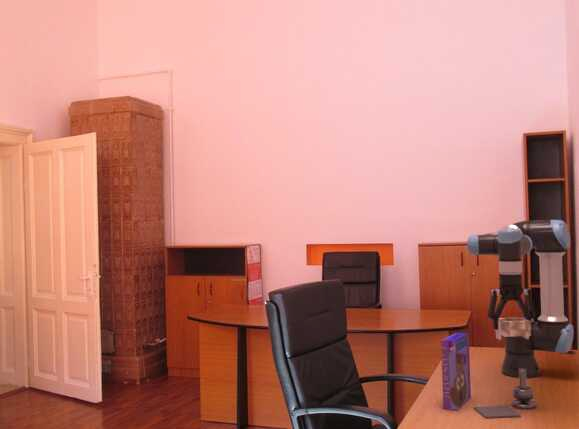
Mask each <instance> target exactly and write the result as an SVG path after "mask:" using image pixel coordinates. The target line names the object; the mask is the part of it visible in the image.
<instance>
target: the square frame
mask: <svg viewBox="0 0 579 429" xmlns="http://www.w3.org/2000/svg"><path fill="white" fill-rule="evenodd" d="M522 318H523V317H499V319H498V320H500V321H501V337H504V338H505V337H515V336H531V323H530V321H528V320H525V319H522ZM493 329H494V328H493ZM493 331H494V333H495V334H496V330H495V329H494V330H493Z"/></svg>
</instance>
